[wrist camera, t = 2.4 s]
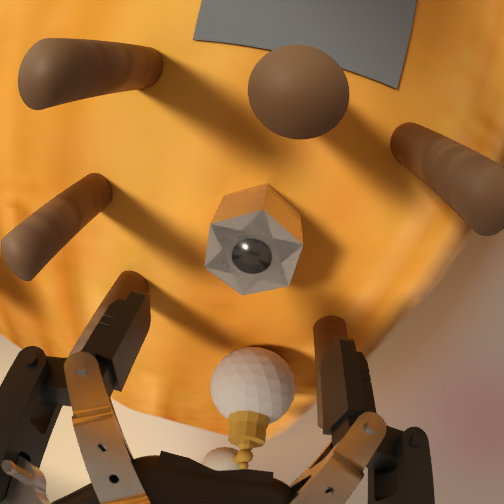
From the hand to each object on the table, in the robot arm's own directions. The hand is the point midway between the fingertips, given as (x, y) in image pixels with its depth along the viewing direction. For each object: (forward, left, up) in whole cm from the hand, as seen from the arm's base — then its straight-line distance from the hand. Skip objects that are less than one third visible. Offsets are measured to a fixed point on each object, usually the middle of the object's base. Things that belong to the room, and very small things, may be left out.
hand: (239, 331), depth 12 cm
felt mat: (-16, 0, -9) cm, 19 cm away
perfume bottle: (+15, +3, -9) cm, 18 cm away
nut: (0, 0, -9) cm, 9 cm away
